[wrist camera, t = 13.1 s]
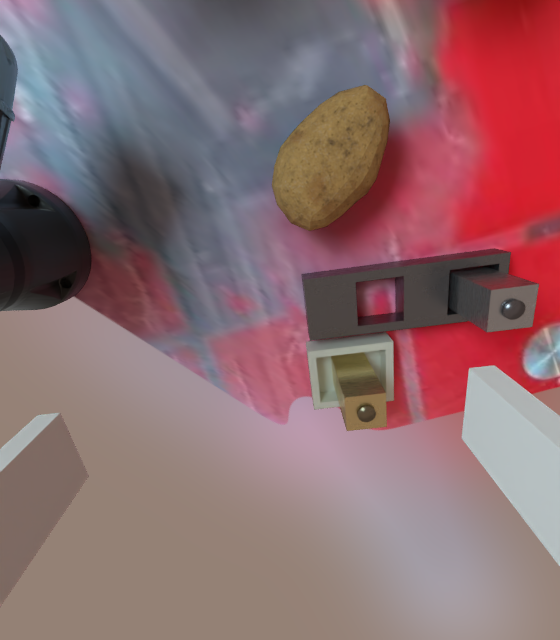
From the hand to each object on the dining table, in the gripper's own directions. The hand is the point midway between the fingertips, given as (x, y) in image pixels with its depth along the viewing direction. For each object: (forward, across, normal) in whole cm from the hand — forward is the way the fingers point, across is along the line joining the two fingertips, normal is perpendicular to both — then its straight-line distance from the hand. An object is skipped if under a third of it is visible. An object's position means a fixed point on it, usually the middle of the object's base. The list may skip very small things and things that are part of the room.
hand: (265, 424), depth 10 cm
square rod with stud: (+31, +23, -6) cm, 39 cm away
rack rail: (+31, +15, -6) cm, 35 cm away
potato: (+32, +7, +10) cm, 34 cm away
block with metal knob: (+30, +8, -16) cm, 36 cm away
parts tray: (+31, +8, -16) cm, 36 cm away
